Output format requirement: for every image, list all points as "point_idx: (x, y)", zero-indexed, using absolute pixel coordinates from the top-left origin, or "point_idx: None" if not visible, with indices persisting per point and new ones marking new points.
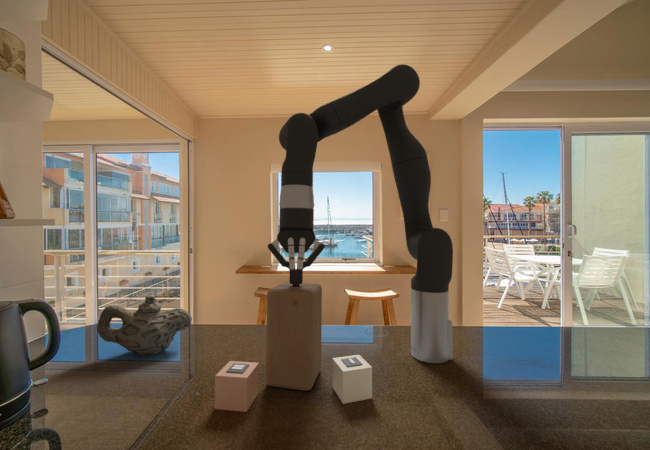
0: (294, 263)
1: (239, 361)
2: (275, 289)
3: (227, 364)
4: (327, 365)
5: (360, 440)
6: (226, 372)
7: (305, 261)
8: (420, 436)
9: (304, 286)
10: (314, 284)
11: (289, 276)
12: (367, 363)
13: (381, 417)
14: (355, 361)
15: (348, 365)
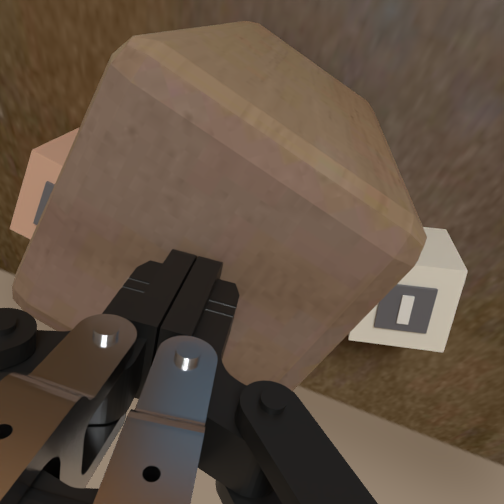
0: (104, 447)
1: (62, 166)
2: (51, 318)
3: (28, 174)
4: (417, 81)
5: (319, 386)
6: (35, 222)
7: (217, 477)
8: (426, 419)
9: (250, 316)
10: (355, 274)
11: (123, 286)
12: (447, 330)
13: (397, 359)
14: (416, 313)
15: (379, 326)
